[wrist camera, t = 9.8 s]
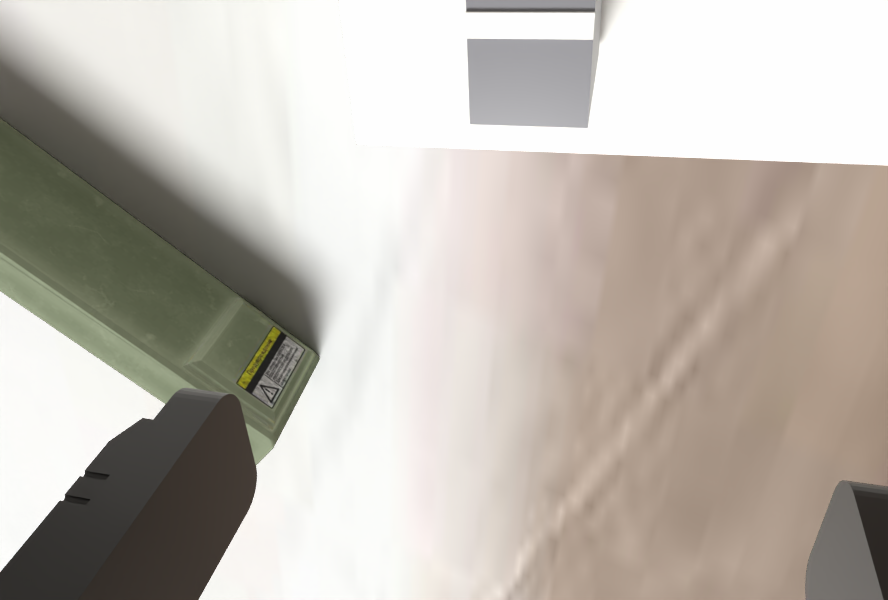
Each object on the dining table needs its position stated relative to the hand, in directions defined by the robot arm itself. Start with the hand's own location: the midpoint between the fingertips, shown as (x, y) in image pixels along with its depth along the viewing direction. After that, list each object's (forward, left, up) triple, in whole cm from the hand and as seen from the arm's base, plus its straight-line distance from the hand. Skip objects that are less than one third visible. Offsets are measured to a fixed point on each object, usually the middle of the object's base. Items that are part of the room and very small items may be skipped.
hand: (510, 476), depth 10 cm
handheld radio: (+10, +22, -21) cm, 32 cm away
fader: (+3, -1, -17) cm, 17 cm away
